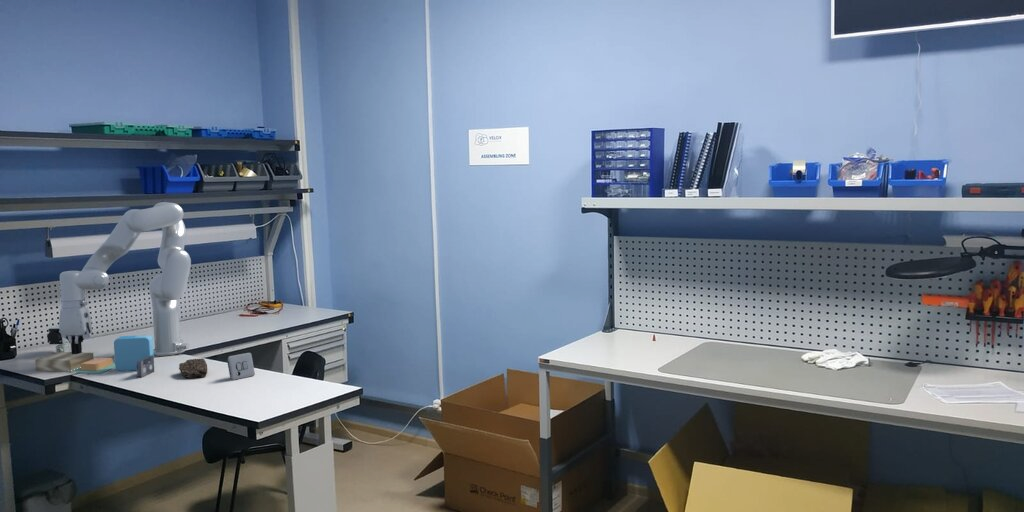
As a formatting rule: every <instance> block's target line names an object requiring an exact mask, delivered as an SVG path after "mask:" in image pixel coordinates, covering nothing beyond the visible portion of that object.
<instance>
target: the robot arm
mask: <svg viewBox="0 0 1024 512" xmlns="http://www.w3.org/2000/svg"><path fill="white" fill-rule="evenodd" d="M184 215H185V214H184V209H183V208H182V206H180V205H179V204H178V203H174V202H167V201H163V202H162V201H161V202H158V203H156V204H155V205H153V206H152V207H148V208H143V209H137V208H135V209H133V208H132V209H129V210H127V211H126V212H125V213H124V214H123V216H122V217H120V219H119V221H118V223H117V224H116V226H115V227H114V228H113V229H112V231H111V233H110V234H109V236H108V237H107V238H106V240H104V242H103V243H102V244H101V245H100V246H99V247H98V249H97V250H96V251H94V253H93V254H92V255H91V256H90V257H89V258H88V260H87V262H86V263H85V265H84V266H83V268H82V270H67V271H62V272H61V273H60V274H59V287H60V301H61V302H60V304H61V308H60V310H59V317H58V319H59V320H58V322H59V323H58V325H59V329H60V333H61V334H62V335H61V337H62V338H66V339H67V340H68V343H69V344H70V348H71V349H70V352H72V354H79V353H82V348H83V347H82V343H83V342H84V340H85V339H86V340H87V339H88V338H91V335H90V334H91V333H92V332H93V326H92V325H93V323H92V318H91V313H90V310H89V307H86V306H88V301H86V296H85V295H86V294H85V290H92V291H93V290H94V291H96V290H102V289H105V288H106V287H107V286H108V285H109V283H110V277H109V275H108V273H107V270H108V269H109V268H110V267H111V266H112V264H113V263H114V262H116V261H117V260H118V259H120V258H121V257H123V256H125V255H126V254H128V253H129V251H130V250H131V248H132V246H134V244H135V242H136V241H137V239H138V237H140V235H141V234H142V233H145V232H146V233H147V232H150V231H155V230H159V229H161V230H162V232H161V233H162V234H161V235H162V237H161V243H160V247H159V251H158V252H159V253H158V255H157V264H158V266H159V267H160V269H162V270H163V273H161V274H156V275H155V276H153V278H152V279H151V281H150V283H149V295H150V300H151V307H152V324H153V325H152V326H153V347H154V348H153V352H154V357H155V356H157V357H160V356H161V357H162V356H163V357H164V356H165V357H166V356H175V355H179V354H182V353H185V352H186V350H189V347H190V343H184V340H183V339H181V325H180V324H181V323H180V308H179V307H180V305H179V301H178V300H180V299H181V298H182V297H183V296H184V294H185V293H186V291H187V287H188V281H189V276H190V272H191V266H192V259H191V257H190V254H189V253H188V252H187V251H186V250H185V244H186V236H187V230H186V225H185V223H184V220H183V218H184Z"/></svg>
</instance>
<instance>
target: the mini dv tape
mask: <svg viewBox="0 0 1024 512" xmlns="http://www.w3.org/2000/svg"><path fill="white" fill-rule="evenodd" d="M153 373H155V356H154V357H153V356H148V357H146V358H144V359H142V360H140V361H137V370H136V377H137V379H142V378H145V377H147V376H149V375H150V374H153Z"/></svg>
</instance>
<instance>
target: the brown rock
mask: <svg viewBox="0 0 1024 512" xmlns="http://www.w3.org/2000/svg"><path fill="white" fill-rule="evenodd" d="M178 367H179V368H178V369H179V372H180V374H181V376H183V378H188V379H202V378H204V377H206V376H207V374H208V370H209V369H208V364H207V361H206V360H205V359H204V358H203V357H202V358H201V357H200V358H192V359H190V358H189V359H187V360H186V361H185V362H181V363H179V365H178Z"/></svg>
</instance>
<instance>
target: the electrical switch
mask: <svg viewBox="0 0 1024 512" xmlns="http://www.w3.org/2000/svg"><path fill="white" fill-rule="evenodd" d="M252 356H253V355H252V353H251V352H246V353H239V354H236V355H235V354H234V355H230V356H228V357H227V359H226V363H227V367H228V374H229V378H230V379H231V380H232V381H235V380H240V379H245V378H249V377H254V376H255V374H256V373H255V367H254V366H255V365H254V361H253V357H252Z"/></svg>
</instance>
